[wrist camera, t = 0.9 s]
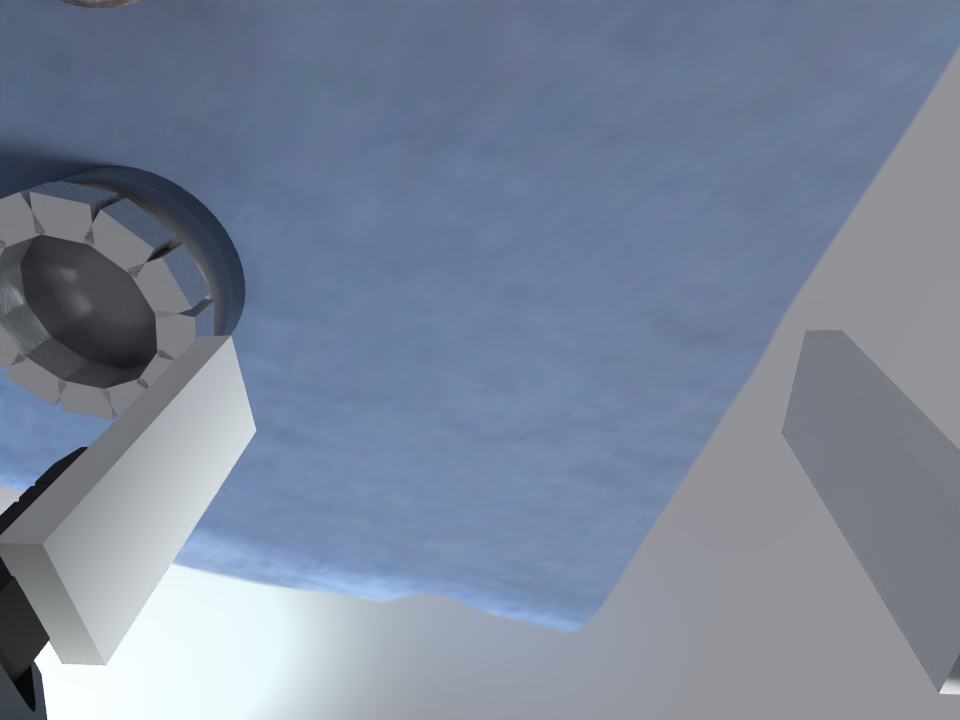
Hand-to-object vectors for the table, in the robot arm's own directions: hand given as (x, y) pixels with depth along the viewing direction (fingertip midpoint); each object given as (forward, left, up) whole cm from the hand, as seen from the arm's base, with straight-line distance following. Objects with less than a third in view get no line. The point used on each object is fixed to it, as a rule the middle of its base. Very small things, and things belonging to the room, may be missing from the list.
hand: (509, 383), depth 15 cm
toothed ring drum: (-1, -27, -26) cm, 37 cm away
